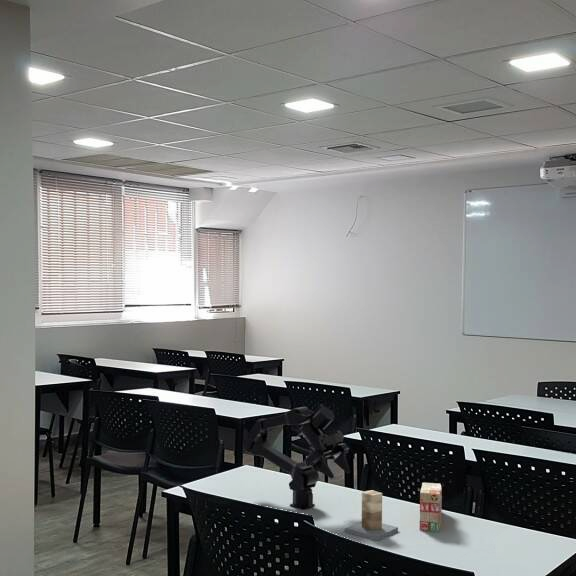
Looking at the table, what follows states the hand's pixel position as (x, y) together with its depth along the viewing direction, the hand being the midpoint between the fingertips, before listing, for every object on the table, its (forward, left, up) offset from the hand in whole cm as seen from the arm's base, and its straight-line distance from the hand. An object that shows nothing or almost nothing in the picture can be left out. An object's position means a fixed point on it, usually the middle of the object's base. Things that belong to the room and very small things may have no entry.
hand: (341, 475), depth 242 cm
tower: (+17, -7, -12) cm, 22 cm away
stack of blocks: (+25, +16, -14) cm, 33 cm away
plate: (+17, -7, -14) cm, 22 cm away
